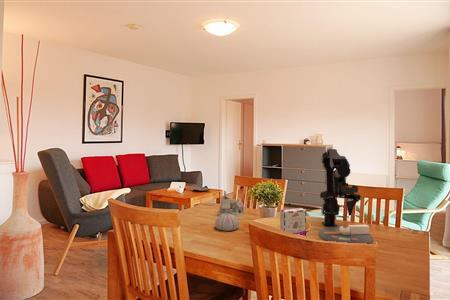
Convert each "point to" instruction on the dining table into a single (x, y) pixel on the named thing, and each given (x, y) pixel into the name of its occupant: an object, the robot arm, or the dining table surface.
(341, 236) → the round gray plate
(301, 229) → the candy bar box
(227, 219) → the sea urchin shell
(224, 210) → the ceramic cottage
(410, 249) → the dining table surface
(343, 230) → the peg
